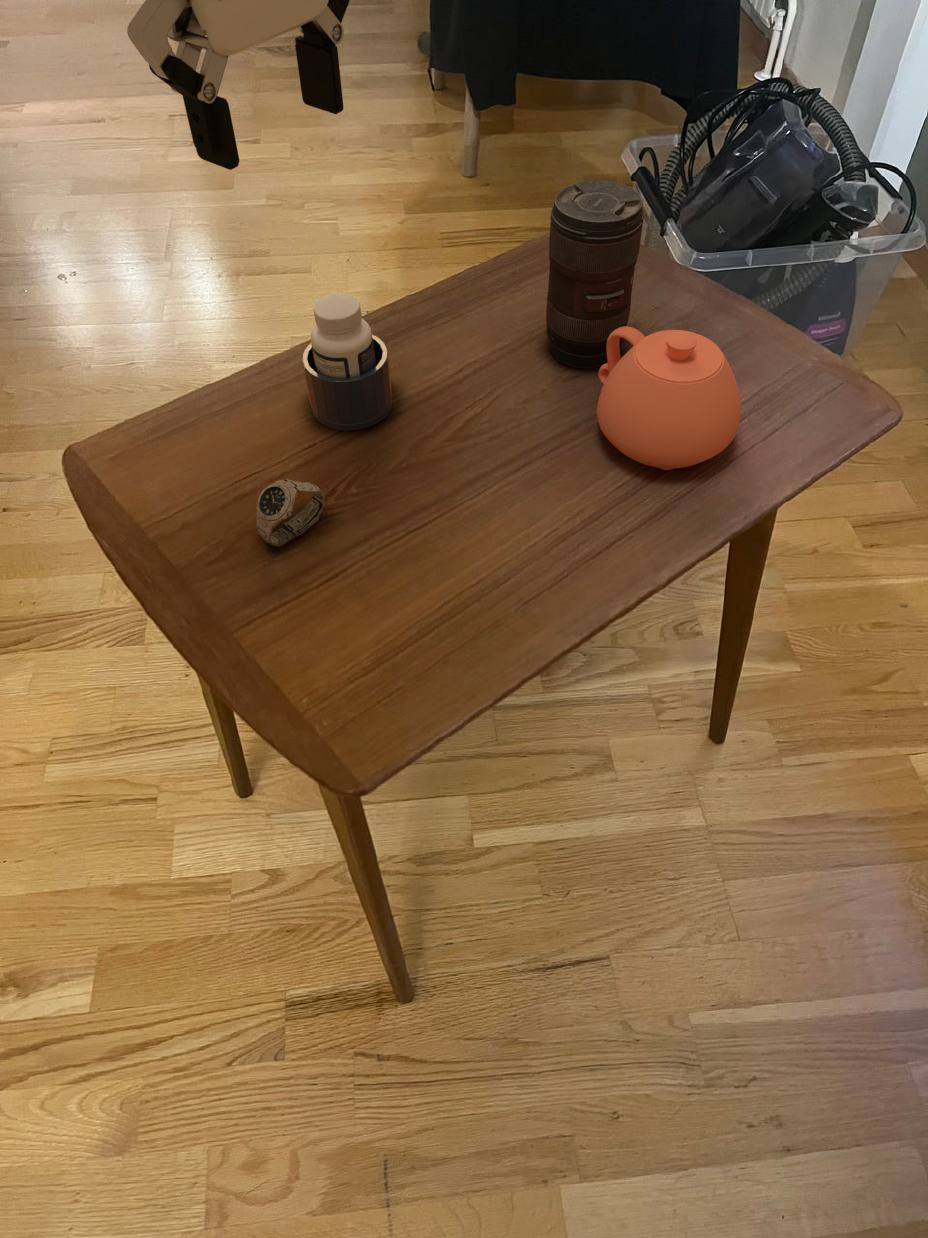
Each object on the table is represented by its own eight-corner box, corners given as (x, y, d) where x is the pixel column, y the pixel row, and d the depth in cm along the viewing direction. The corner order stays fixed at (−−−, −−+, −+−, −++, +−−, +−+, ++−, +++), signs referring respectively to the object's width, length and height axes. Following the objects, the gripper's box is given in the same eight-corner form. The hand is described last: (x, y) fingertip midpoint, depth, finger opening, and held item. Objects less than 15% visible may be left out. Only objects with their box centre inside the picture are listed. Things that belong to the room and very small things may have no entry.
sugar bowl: (670, 504, 76) (692, 407, 68) (552, 425, 83) (559, 327, 75) (761, 438, 81) (790, 340, 73) (642, 368, 88) (657, 271, 80)
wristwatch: (253, 538, 75) (240, 494, 71) (312, 500, 78) (302, 456, 74) (279, 561, 73) (267, 517, 70) (338, 521, 76) (330, 477, 72)
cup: (294, 410, 85) (284, 361, 81) (348, 369, 89) (341, 320, 85) (356, 442, 82) (348, 392, 78) (409, 398, 86) (404, 348, 82)
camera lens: (636, 334, 91) (658, 186, 80) (609, 381, 87) (628, 231, 75) (560, 316, 94) (571, 169, 82) (530, 360, 89) (537, 212, 77)
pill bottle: (366, 374, 87) (354, 281, 79) (388, 406, 84) (378, 312, 76) (313, 390, 86) (296, 297, 78) (334, 424, 83) (318, 330, 75)
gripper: (280, -253, 52) (319, 77, 65) (26, -198, 43) (132, 169, 56) (382, -239, 49) (401, 102, 62) (132, -178, 40) (217, 204, 54)
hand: (273, 134), depth 59 cm, fingers open, 9 cm apart
